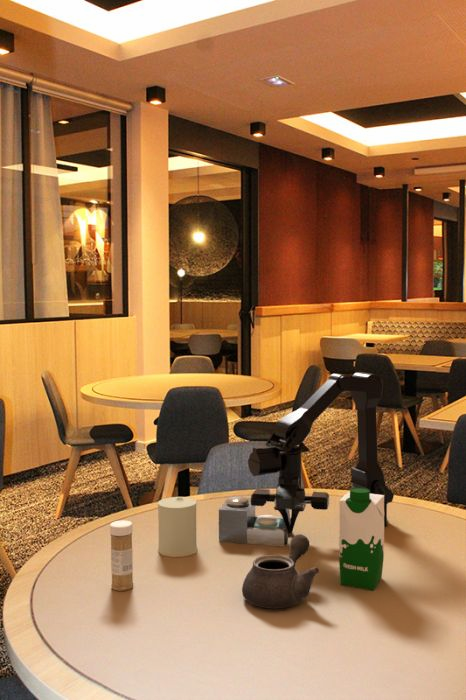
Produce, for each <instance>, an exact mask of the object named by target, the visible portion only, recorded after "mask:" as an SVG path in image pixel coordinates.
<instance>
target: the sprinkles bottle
mask: <svg viewBox="0 0 466 700" xmlns="http://www.w3.org/2000/svg"><path fill="white" fill-rule="evenodd" d="M133 530H134V529H133V523H132V522H131V521H130V520H116V521H113V522H111V523H110V525H109V534H110V545H111V546H110V567H111V568H110V569H111V570H110V572H111V588H112V589H113V590H114V591H120V592H121V591H123V592H124V591H128V590H130V589H132V588H133V587H134V582H133V581H134V580H133V578H134V577H133V572H134V568H133V565H134V564H133V563H134V561H133V559H134V558H133V557H134V555H133V553H134V551H133Z"/></svg>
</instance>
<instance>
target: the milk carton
mask: <svg viewBox="0 0 466 700" xmlns="http://www.w3.org/2000/svg"><path fill="white" fill-rule="evenodd" d="M384 515H385V514H384V495H378V494H370V490H369V489H366V488H354V487H351V488H350V489H349V491H348V492H347V493H345V494H344V496H342V497H341V498H340V499H339V518H338V519H339V521H338V522H339V526H338V528H339V531H338V534H339V537H338V539H339V540H338V544H339V545H338V546H339V549H338V550H339V551H338V560H339V561H338V564H339V578H340V579H339V581H340V586H341V585H342V586H345V587H351V588H358V589H363V590H369V591H374V590H375V589H376V587H378V586H377V585H378V584H379V583H380V581H381V579H382V578H383V577H382V576H383V570H384V569H383V567H384V559H385V558H384V557H385V555H384V554H385V526H384Z"/></svg>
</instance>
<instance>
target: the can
mask: <svg viewBox="0 0 466 700" xmlns="http://www.w3.org/2000/svg"><path fill="white" fill-rule="evenodd" d="M197 504H198V502H197V500H196V499H194V498H191V497H186V496H170V497H166V498H162V499H160V500H158V502H157V511H158V514H157V515H158V519H157V520H158V547H157V551H158V553H159V554H161V555H162V556H165V557H171V558H183V557H188V556H191V555H194V554H195V553H196V552H197V551H198V546H197V541H198V540H197Z"/></svg>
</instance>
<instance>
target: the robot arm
mask: <svg viewBox="0 0 466 700" xmlns="http://www.w3.org/2000/svg"><path fill="white" fill-rule="evenodd" d="M383 383H384V382H383V380H382V378H381V377H380V376H379V375H378V374H374V373H368V372H362V371H357V372H355V373H354V374H352V375H350V374H342V373H335V372H334V373H332V374H330V375H329V377H328V379H327V380H326V381H325V382H324V383H323V384H322V385H321V386H320V387H319V388H318V389H317V390H316V391H315V392H314V394H312V395H311V396H310V397H309V398H308V399H307V400H306V401H305V402H304V403H303V404H302V405H301V406H300V407H299V408H298V409H296V410H294V411H291V412H290V413H286V415H284V416H283V417H281V418H280V419H279V420H278V421H277V422H276V423H275V424H274V430H273V431H272V433H271V435H270V437H269V438H268V440H267V441H266V443H265V445H264V446H253V447H252V452H251V453H250V454H249V455H248V456H249V457H248V459H247V464H248V465H247V466H248V470H249V472H250V474H251V475H252V476H253V477H260V476H267V475H274V474H277V473H278V474H277V475H278V477H277V479H278V480H277V482H278V483H277V486H276V492H275V493H271V489H266V488H265V489H263V488H256V489H255V490H254V491H253V492H252V493H251V495H250V498H251V505H252V506H255V507H264V506H265V505H266V504H267V502H271V503H274V507H273V510H275V511H278V512H279V513H280V515H281V517H283V520H284V522H285V525H286V528H287V529H288V535H291V534H293V530H294V527H295V525H296V521H297V517H298V515H299V514H300V512H305V509H306V507H307V504H309V505H310V506H311V507H312V508H313V510H321V511H323V510H324V511H325V510H328V508H329V506H330V495H329V493H328V492H324V491H323V492H322V491H313V492H312V494H311V495H306V490H305V488H304V487H303V482H302V481H303V479H302V478H303V476H302V475H303V466H302V465H303V462H302V461H303V459H302V457H303V456H302V455H303V454H302V453H308V452H310V448H309V447H308V446H307V445H306V444H304V441H305V440H306V439H307V437H308V435H309V434H310V433H311V430H312V426H313V424H314V423H315V421H316V420H317V419H318V418H319V417H320V416H321V415H322V414H323V413H324V412H325V410H327V409H328V408H329V407H330V405H331V404H333V402H335V400H337V398H339V396H341V394H343V392H345V391H350V396H351V398H352V400H353V402H354V404H355V407H356V414H357V415H356V417H357V418H356V419H357V447H358V449H357V450H358V451H357V452H358V462H357V463H356V466H355V467H350V475H351V478H350V483H351V484H352V488H366V489H369V490H370V494H378V495H384V514H385V515H384V527H388V514H387V512H388V504H390V503H392V502H393V499H394V496H395V494H394V493H393V491H391V489H390V488H389V487H388V486H387V485H386V479H385V472H384V471H383V469H382V467H381V465H380V463H379V459H378V457H379V455H378V453H379V452H378V426H377V425H378V421H377V420H378V419H377V407H378V404H379V403H380V401H381V399H382V396H383V387H384V384H383ZM290 510H291V513H290ZM290 518H291V523H290Z"/></svg>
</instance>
